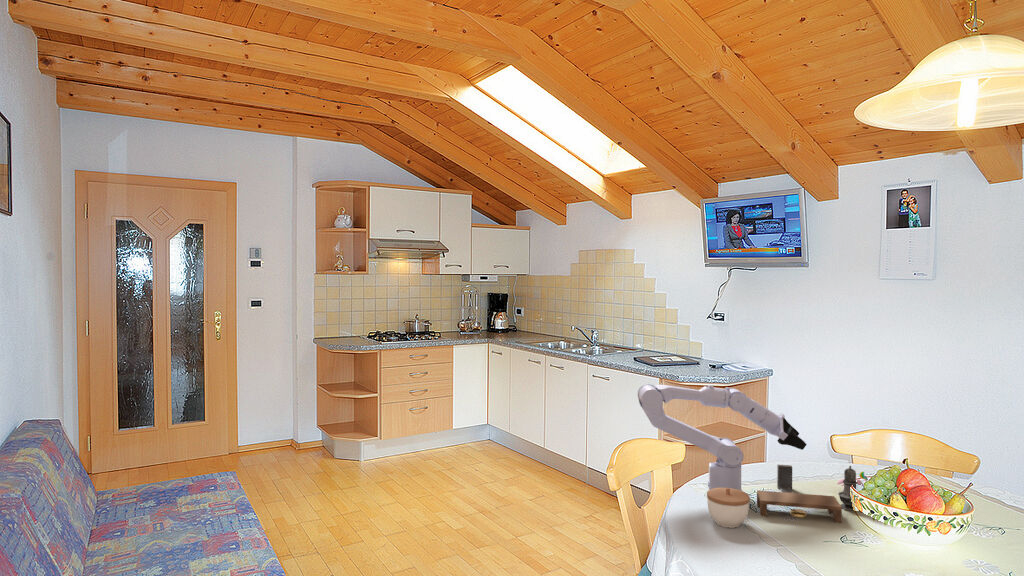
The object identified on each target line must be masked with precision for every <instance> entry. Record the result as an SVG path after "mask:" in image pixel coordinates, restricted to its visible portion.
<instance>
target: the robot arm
mask: <svg viewBox="0 0 1024 576" xmlns="http://www.w3.org/2000/svg"><path fill="white" fill-rule="evenodd" d="M637 398H638V403H639V405H640V407H641V409H642V410H643V412H644V414H645V415H646V417H647V418H648V420H649V422H650V424H651V425H652V427H654V428H656V429H658V430H661V431H662V432H665V433H666V434H669V435H671V436H673V437H676V438H678V439H680V440H682V441H684V442H687V443H689V444H691V445H694V446H696V447H698V448H699V449H701V450H704V451H707V452H708V453H710V454H711V455H712V456H714V457H716V460H715V462H708V481H707V487H708V490H710V489H713V488H733V489H737V490H741V491H743V488H742V464H743V461H744V459H745V457H744V453H743V450H742V449H741V448H740V447H738V446H737V445H736V444H735V442H734V441H733V440H732V439H730V438H728V437H719V436H716V435H712V434H708V433H707V432H705V431H703V430H700V429H698V428H696V427H694V426H692V425H691V424H690V425H689V424H687V423H685V422H683V421H680V420H678V419H677V418H674V417H672V416H669V415H668V414H665V413H666V412H665V410H664V408H663V407H664V404H667V403H669V402H671V401H672V400H681V401H683V400H684V401H698V402H699V403H700V405H702V406H703V407H704V406H705V407H713V408H720V409H721V408H722V409H725V408H730V409H731V410H732V411H733V412H737V413H739V414H741V415H742V417H744V418H746V419H747V420H749V421H751V422H752V423H754V424H755V425H756V426H758V427H760V428H762V429H763V430H764V431H766V432H767V433H768V434H769V435H772V436H776V437H778V439H777V440H776V441H777V442H778V443H779V444H780V445H783V446H784V445H786V446H790V447H793V448H796V449H798V450H804V449H805V448H806V446H807V443H806V442H805V440H803V439H802V438H801V437H800V436H799V435H800V432H799V431H798V430H797V429H796V428H795V427H793V425H791V424H790V422H789V421H788V420H787V419H786V418H785V414H784V413H779V414H777V413H775V412H774V411H772V410H770V409H769V408H767V407H765V406H763V405H762V404H761V403H760V402H758V401H756V400H755V399H752V398H751V397H750V396H747V395H746V393H744V392H742V391H740V390H739V389H737V388H733V387H725V388H720V387H714V385H713V384H708V385H707V386H706V385H705V386H702V387H701V388H700V389H693V388H689V387H681V386H674V385H669V384H667V385H666V384H656V383H655V384H654V385H653V384H650V383H646V384H643V385H641V386H640V387H639V388H638V390H637Z"/></svg>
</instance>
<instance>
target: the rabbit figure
mask: <svg viewBox="0 0 1024 576" xmlns="http://www.w3.org/2000/svg"><path fill="white" fill-rule="evenodd" d="M859 477H860V479H862V480H860V479H859V478H857V477H856V480H857V484H858V485H861V484H862V486H863V483H862V482H863V481H867V480H868V479H869V478H868V476H866V475H865V471H861V472H860V473H859ZM843 480H844V478H841V479H839V480H838V481H837V485H841V486H842V487H844V482H843Z"/></svg>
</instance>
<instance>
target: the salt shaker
mask: <svg viewBox="0 0 1024 576" xmlns="http://www.w3.org/2000/svg"><path fill="white" fill-rule="evenodd" d="M856 478H857V472H856V470H855V469H853V468H852V466H851V465H849V466H848V468H846V469H845V470H844V477H843V479H844V480H843V482H844V483H843V484H844V486H843V490H842V491H839V492H838V494H837V495H838V496H839V499H840V500H839V501H841V503H840V505H841V507H842V510H844V511H848V512H854V510H853V507H852V502H851V497H850V487H851V485H853V487H854V488H855V489H856V484H857V482H856Z"/></svg>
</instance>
